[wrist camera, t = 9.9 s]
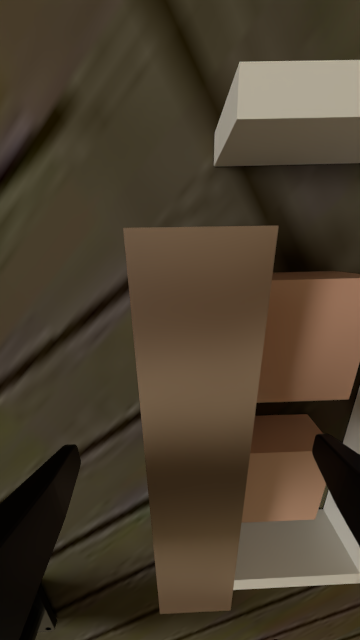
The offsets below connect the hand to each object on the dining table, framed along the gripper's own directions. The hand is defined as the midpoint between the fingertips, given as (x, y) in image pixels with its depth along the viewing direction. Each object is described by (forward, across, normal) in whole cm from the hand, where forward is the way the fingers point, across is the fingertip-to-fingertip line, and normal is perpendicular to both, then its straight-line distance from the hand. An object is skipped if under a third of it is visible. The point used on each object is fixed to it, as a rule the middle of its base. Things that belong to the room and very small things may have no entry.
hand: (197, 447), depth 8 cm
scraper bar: (+4, 0, 0) cm, 4 cm away
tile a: (+4, -4, +4) cm, 7 cm away
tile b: (+4, -4, -4) cm, 6 cm away
